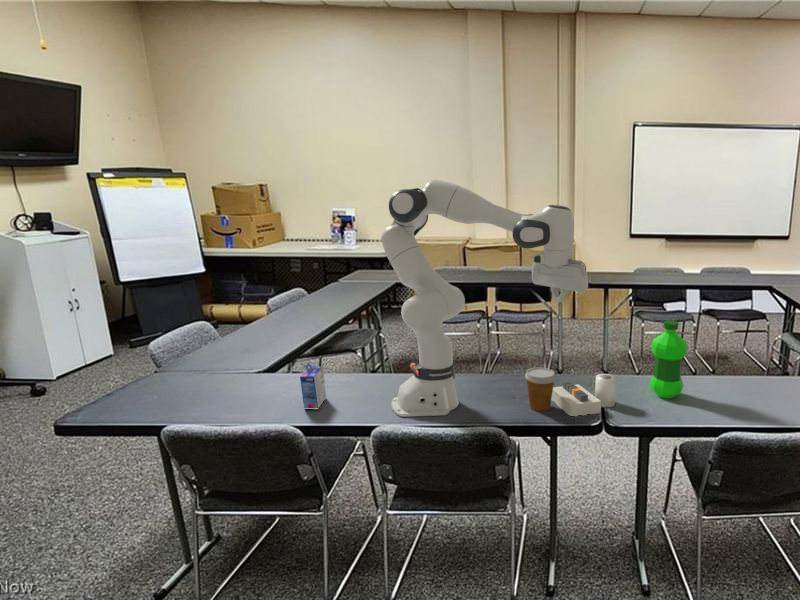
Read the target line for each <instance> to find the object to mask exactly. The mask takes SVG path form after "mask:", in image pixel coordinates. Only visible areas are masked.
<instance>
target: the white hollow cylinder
mask: <svg viewBox="0 0 800 600" xmlns="http://www.w3.org/2000/svg"><path fill="white" fill-rule="evenodd" d="M616 382H617V377H616V376H615V375H613V374H609V373H599V374H596V375H595V385H594V386H595V387H594V388H595V389H594V390H595V392H594V396H595V397H596V398H598V399H599V400H600V401H601V408H612V407H614V406H615V403H616V388H617V387H616V385H617V383H616Z"/></svg>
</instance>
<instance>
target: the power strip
mask: <svg viewBox="0 0 800 600" xmlns="http://www.w3.org/2000/svg"><path fill="white" fill-rule="evenodd" d="M553 401H554V402H555V403H556V404H555V403H554V402H553ZM551 402H553V403H554V404H555V405H557V406H558V407H559V408H560V409H561V408H562V409H563V410H564V411H563V410H562V409H561V410H562V411H563V412H564V413H566V415H568V416H569V415H570V416H575V417H579V416H578V415H582V416H588V415H587V414H590V415H596V414H602V407H601V401H600V400H599V399H598V398H596V397H595V394H592V393H591V392H589V391H588V390H587V389H586V388H584V387H583V386H581V385H580V384H579V383H577V384H574V383H573V382H571V381H569V380H568V381H563V382H562V386H561V385H560V386H557V385H556V384H555V383H554V385H553V392H552V398H551ZM570 416H569V417H570Z"/></svg>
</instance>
